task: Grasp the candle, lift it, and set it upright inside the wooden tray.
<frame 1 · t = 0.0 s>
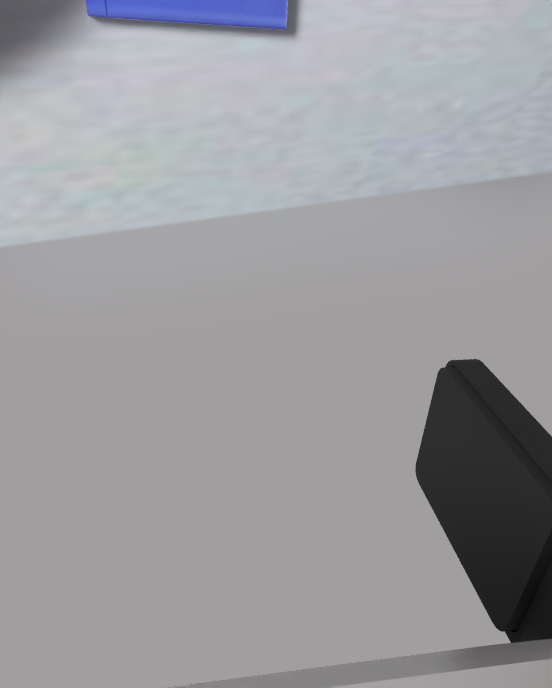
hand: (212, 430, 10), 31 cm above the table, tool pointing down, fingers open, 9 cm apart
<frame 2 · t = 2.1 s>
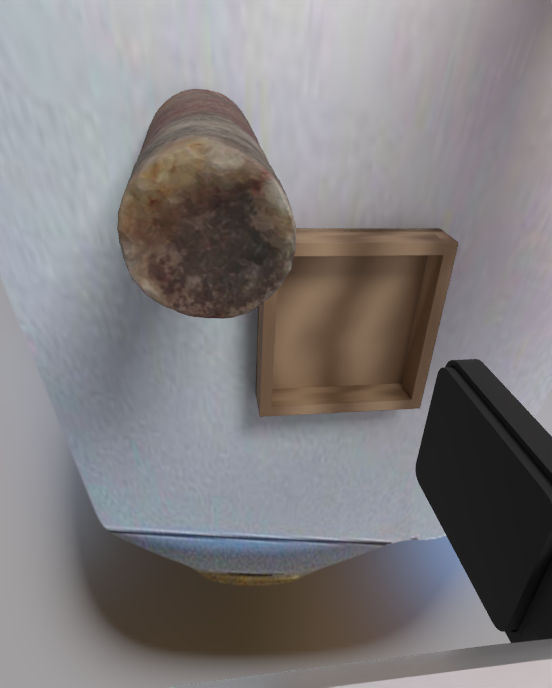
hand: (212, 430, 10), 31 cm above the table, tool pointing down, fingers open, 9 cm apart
wooden tray: (341, 316, 45), on the table
candle: (200, 146, 37), on the table
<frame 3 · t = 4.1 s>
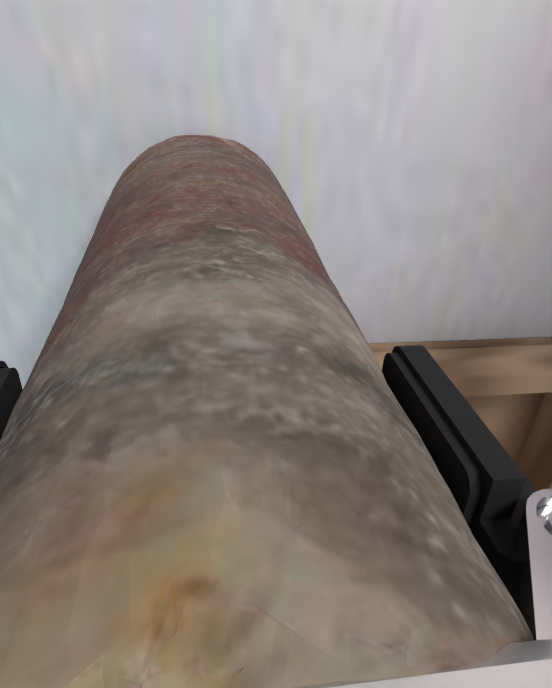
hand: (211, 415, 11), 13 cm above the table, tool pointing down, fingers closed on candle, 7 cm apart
wooden tray: (411, 458, 30), on the table
candle: (200, 226, 22), on the table, touching gripper
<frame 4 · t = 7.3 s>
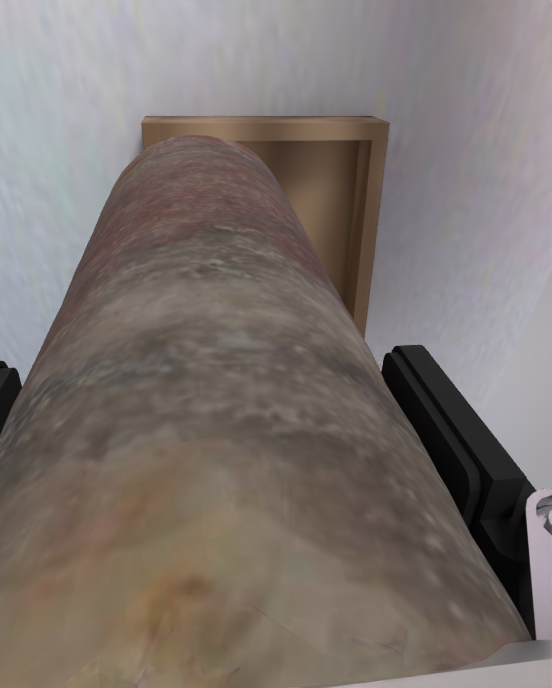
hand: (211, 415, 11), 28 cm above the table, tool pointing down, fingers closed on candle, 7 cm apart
wooden tray: (262, 234, 38), on the table
candle: (199, 226, 22), point 15 cm above the table, touching gripper
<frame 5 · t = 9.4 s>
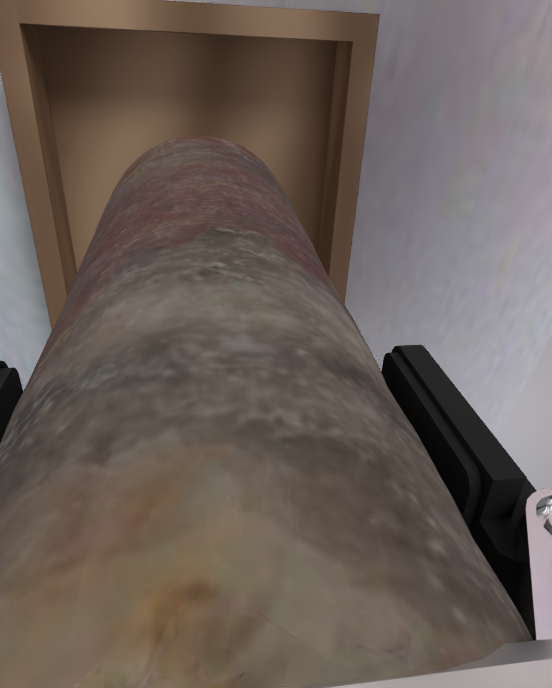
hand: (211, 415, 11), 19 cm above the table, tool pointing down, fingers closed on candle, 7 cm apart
wooden tray: (198, 191, 27), on the table
candle: (200, 227, 22), point 6 cm above the table, touching gripper
when the fingers open (15 cm above the table, at t = 10.7 s): candle drops 1 cm, resting on wooden tray.
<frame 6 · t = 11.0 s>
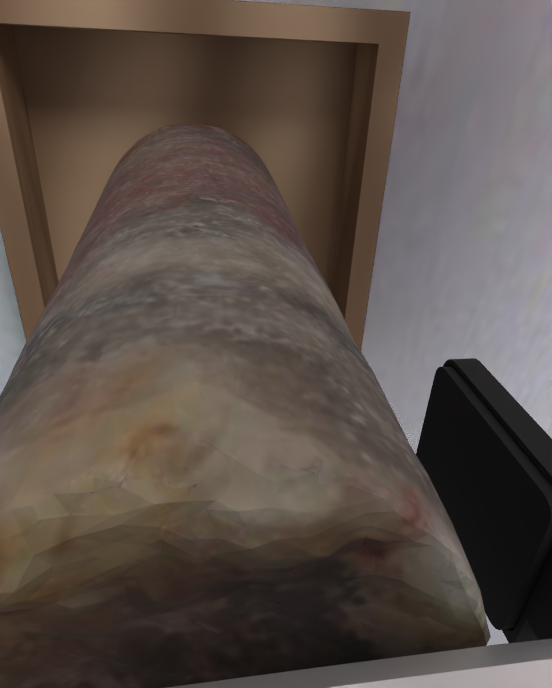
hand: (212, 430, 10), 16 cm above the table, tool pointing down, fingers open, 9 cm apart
wooden tray: (198, 211, 24), on the table
candle: (193, 211, 23), point 1 cm above the table, touching wooden tray
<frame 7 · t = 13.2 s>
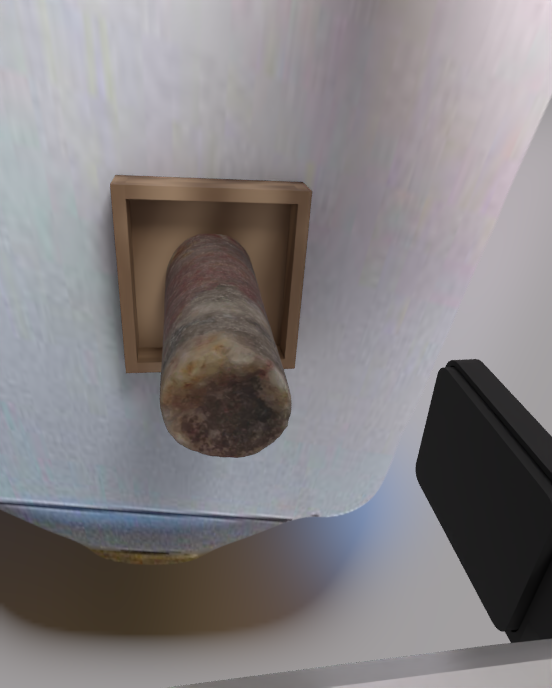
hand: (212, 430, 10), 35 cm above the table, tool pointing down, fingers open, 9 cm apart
wooden tray: (211, 272, 45), on the table
candle: (209, 272, 44), point 1 cm above the table, touching wooden tray
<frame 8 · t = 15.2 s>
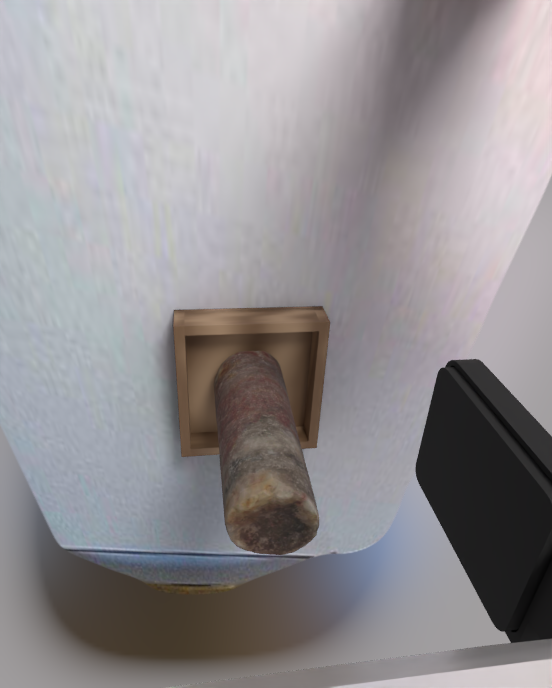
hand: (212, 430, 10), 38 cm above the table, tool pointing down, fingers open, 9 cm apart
wooden tray: (248, 374, 56), on the table
candle: (246, 376, 55), point 1 cm above the table, touching wooden tray
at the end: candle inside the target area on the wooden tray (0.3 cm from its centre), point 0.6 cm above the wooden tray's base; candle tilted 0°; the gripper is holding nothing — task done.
